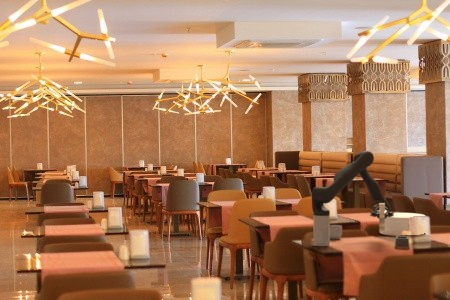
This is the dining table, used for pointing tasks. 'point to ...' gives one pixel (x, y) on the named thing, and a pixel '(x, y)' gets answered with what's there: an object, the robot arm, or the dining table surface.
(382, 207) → the slat
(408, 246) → the dark grey block
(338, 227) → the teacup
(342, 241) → the dining table surface
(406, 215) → the plate stack
